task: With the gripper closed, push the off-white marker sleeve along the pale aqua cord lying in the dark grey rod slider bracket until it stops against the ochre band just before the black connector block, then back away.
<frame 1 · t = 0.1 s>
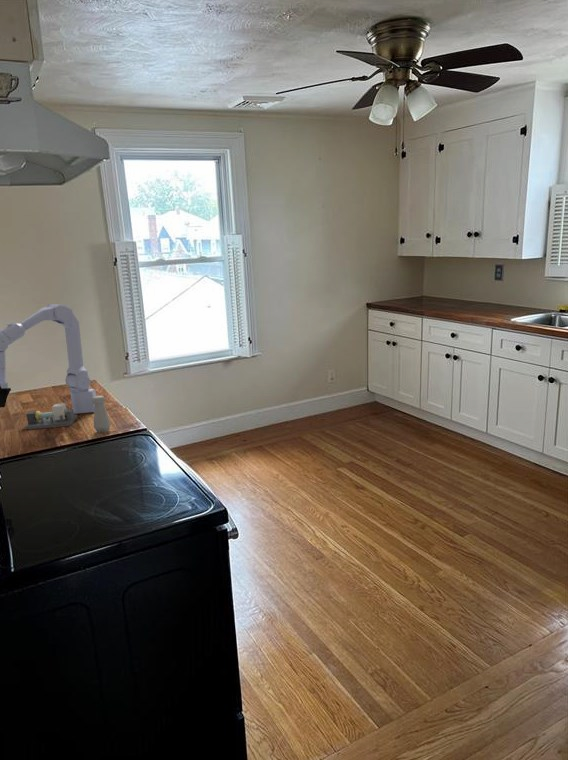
salt shaker: (103, 431, 193), on the table
rod slider bracket: (52, 423, 206), on the table
band: (40, 424, 206), resting on rod slider bracket
sleeve: (60, 411, 206), point 4 cm above the table, slide at 0.0 cm
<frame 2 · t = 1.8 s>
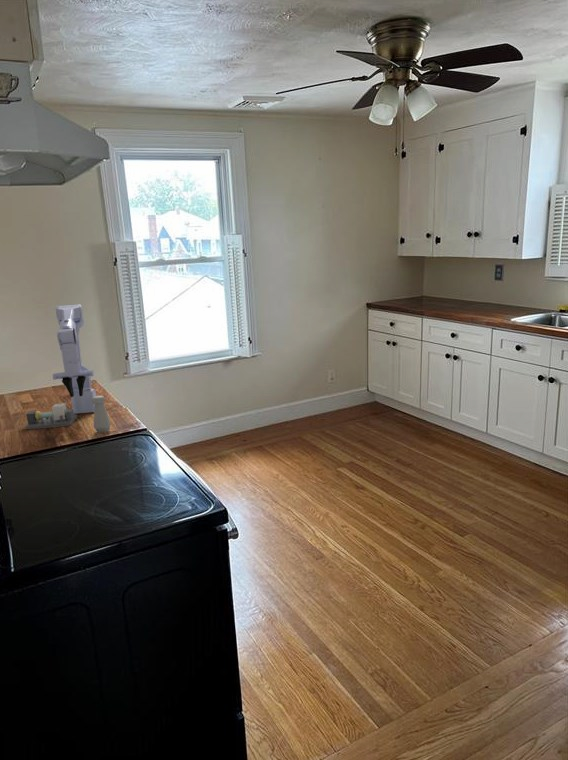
hand: (76, 396, 205), 10 cm above the table, tool pointing down, fingers open, 3 cm apart
nothing on the table moved.
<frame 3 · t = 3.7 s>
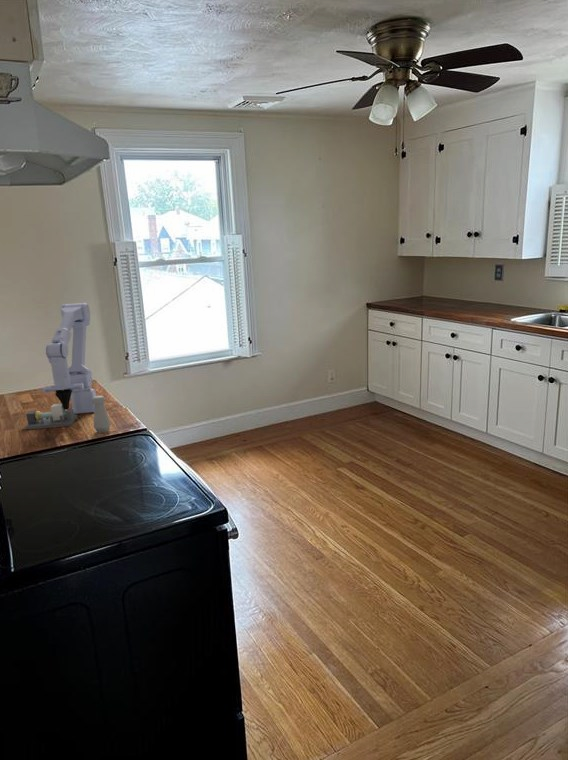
hand: (66, 408, 206), 5 cm above the table, tool pointing down, fingers closed
sleeve: (58, 411, 206), point 4 cm above the table, slide at 0.6 cm, touching gripper
everything else where it was.
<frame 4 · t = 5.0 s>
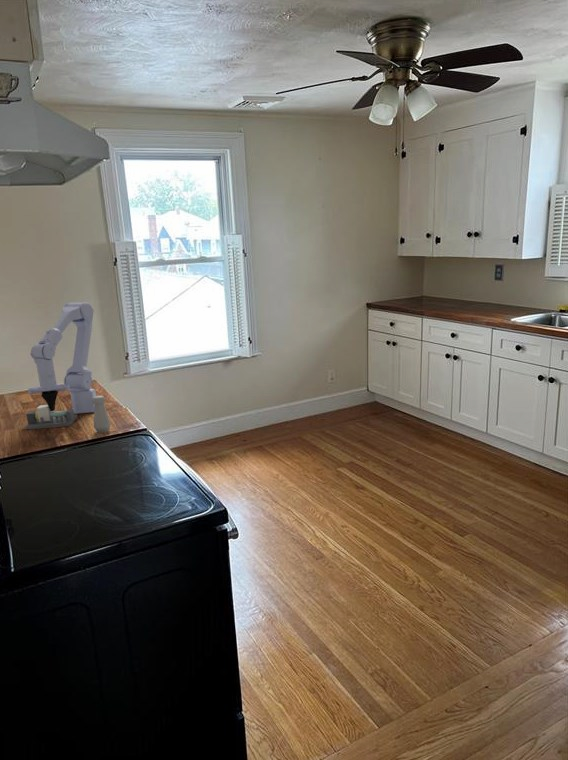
hand: (52, 410, 205), 5 cm above the table, tool pointing down, fingers closed
sleeve: (44, 413, 205), point 4 cm above the table, slide at 5.6 cm, touching band, gripper
everything else where it was.
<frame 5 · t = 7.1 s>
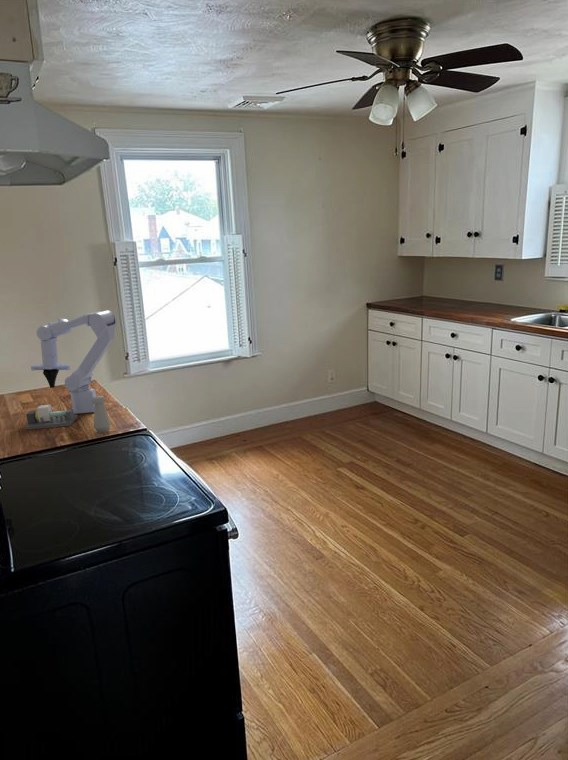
hand: (52, 387, 221), 10 cm above the table, tool pointing down, fingers closed
sleeve: (44, 413, 205), point 4 cm above the table, slide at 5.6 cm, touching band
everything else where it was.
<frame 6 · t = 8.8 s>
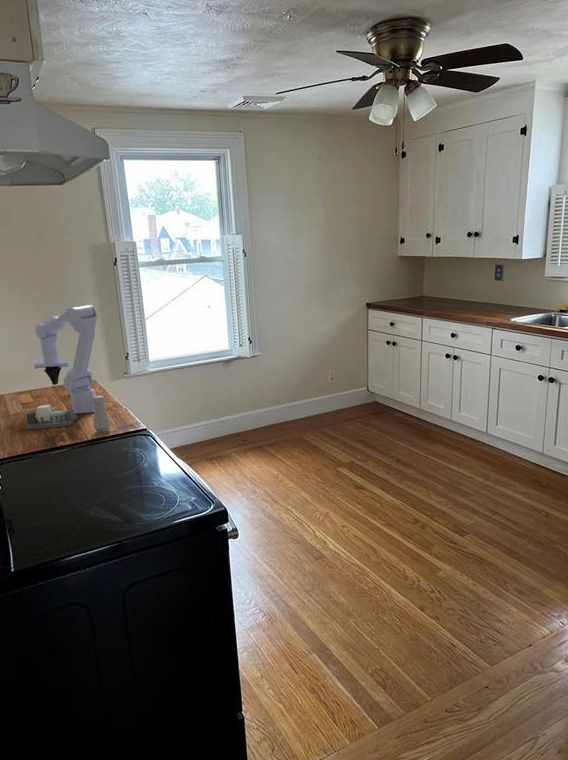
hand: (55, 384, 227), 10 cm above the table, tool pointing down, fingers closed
nothing on the table moved.
at the end: sleeve slide at 5.6 cm; the gripper is holding nothing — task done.
